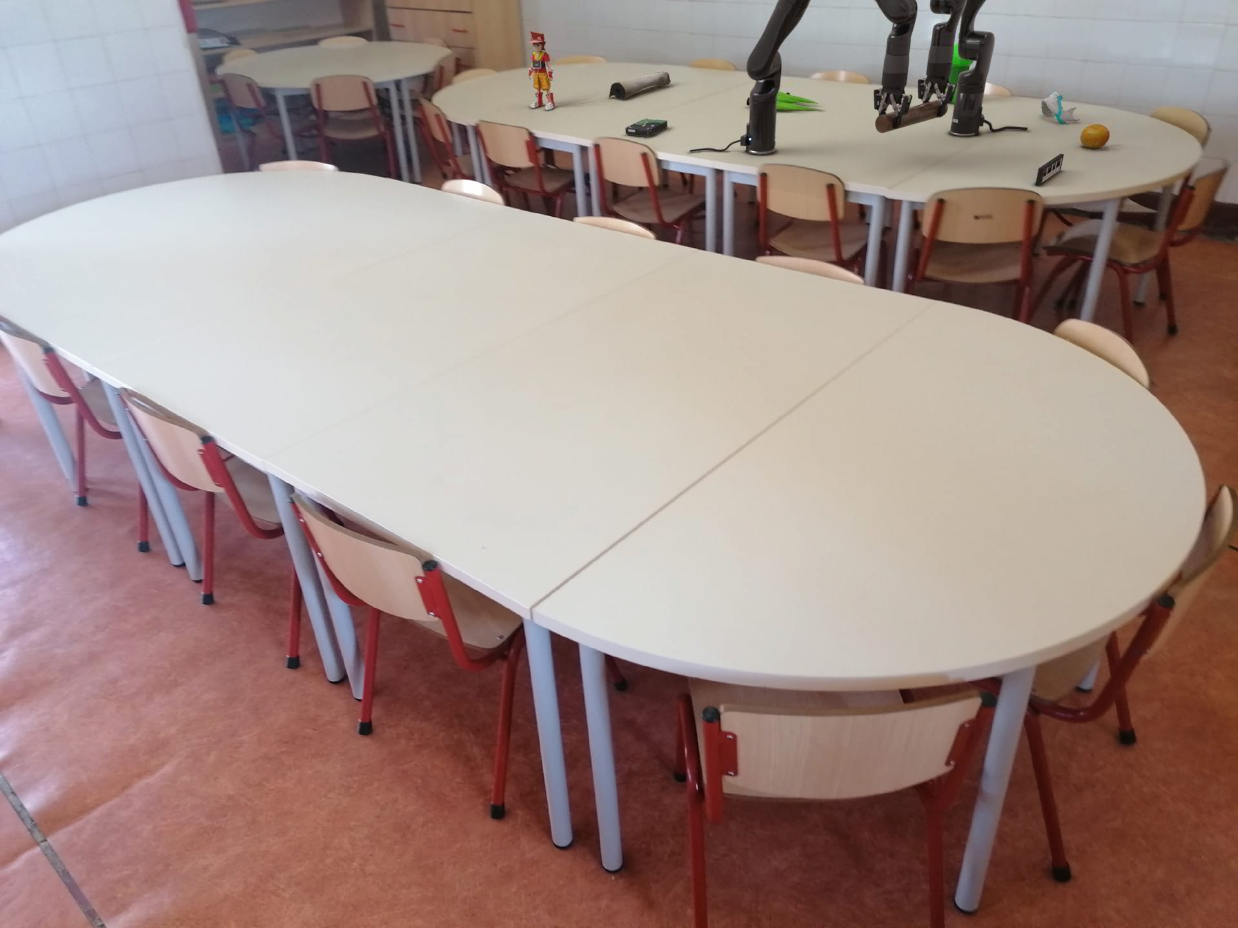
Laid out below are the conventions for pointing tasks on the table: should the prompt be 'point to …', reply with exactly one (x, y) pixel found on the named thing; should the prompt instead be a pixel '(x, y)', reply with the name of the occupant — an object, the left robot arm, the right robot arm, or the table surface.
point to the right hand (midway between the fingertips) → (932, 115)
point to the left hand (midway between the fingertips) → (888, 126)
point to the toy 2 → (790, 102)
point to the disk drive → (646, 127)
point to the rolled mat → (638, 84)
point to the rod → (909, 116)
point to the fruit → (1095, 136)
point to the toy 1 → (541, 71)
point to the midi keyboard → (1049, 169)
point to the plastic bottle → (957, 68)
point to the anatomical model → (1057, 108)
